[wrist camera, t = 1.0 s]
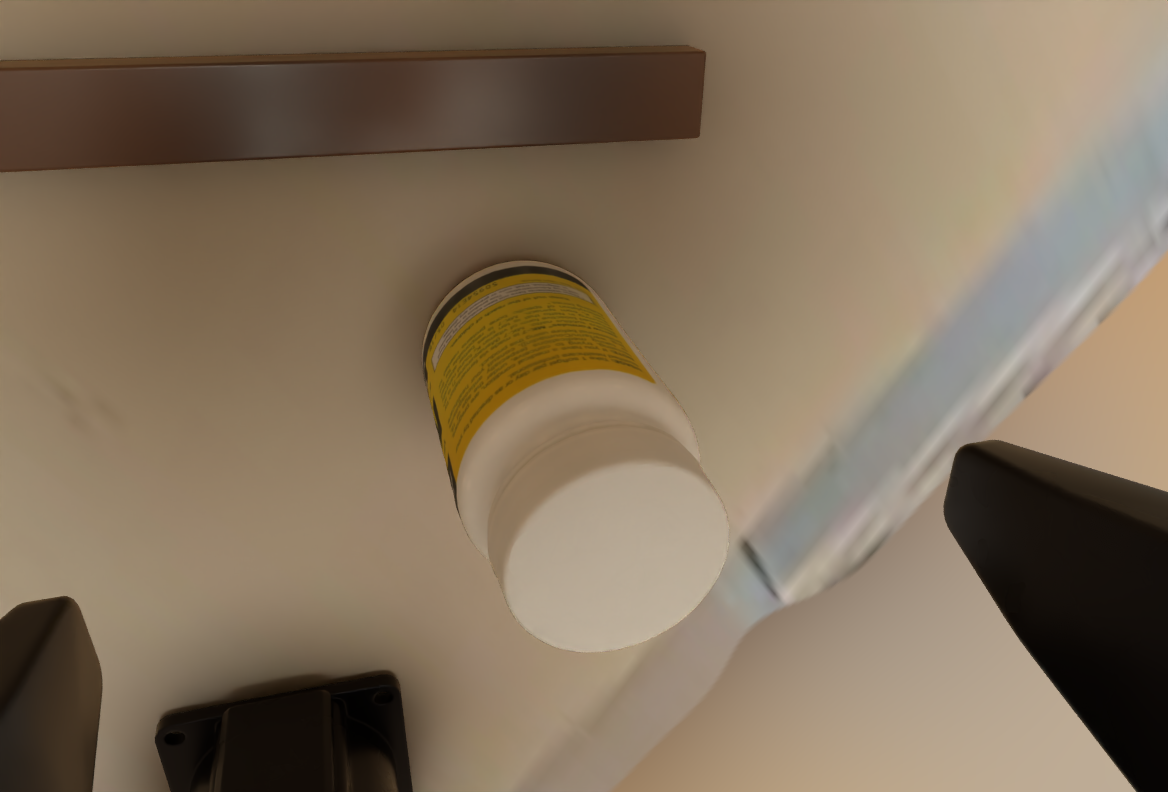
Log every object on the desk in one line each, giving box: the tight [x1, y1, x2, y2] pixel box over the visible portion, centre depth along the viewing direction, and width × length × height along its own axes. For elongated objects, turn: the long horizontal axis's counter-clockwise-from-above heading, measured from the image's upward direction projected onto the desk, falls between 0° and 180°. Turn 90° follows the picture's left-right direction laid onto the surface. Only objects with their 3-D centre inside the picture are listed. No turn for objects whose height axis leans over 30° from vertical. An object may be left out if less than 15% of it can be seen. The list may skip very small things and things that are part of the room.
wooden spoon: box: [0, 45, 706, 172], centre depth 16 cm, size 24×6×2 cm, turn 89°
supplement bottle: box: [422, 260, 729, 653], centre depth 18 cm, size 5×5×8 cm
